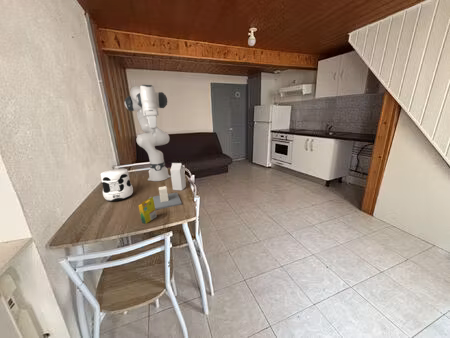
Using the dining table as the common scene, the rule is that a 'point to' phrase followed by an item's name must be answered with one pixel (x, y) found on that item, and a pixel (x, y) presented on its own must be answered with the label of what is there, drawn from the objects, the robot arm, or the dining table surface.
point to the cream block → (163, 194)
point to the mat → (172, 198)
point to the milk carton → (178, 176)
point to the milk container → (116, 184)
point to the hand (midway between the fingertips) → (154, 135)
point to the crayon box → (147, 210)
